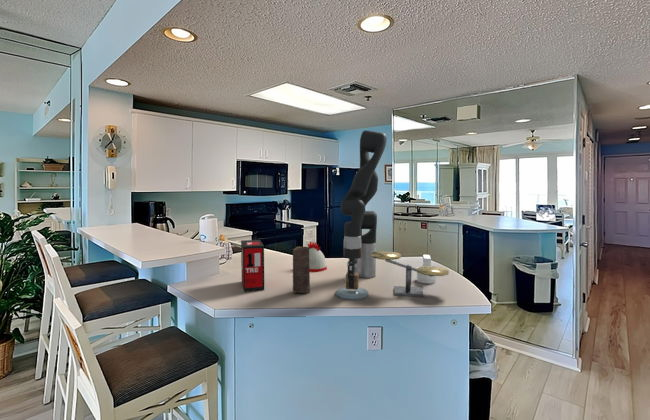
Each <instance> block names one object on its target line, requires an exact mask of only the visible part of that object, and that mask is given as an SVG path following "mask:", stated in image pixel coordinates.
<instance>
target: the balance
mask: <svg viewBox="0 0 650 420" xmlns="http://www.w3.org/2000/svg"><path fill="white" fill-rule="evenodd" d="M371 257H373V258H376V260H384V261H385V262H387V263H389V264H393V265H396V266H398V267H401V268H404V269H405V286H404V285H403V286H400V285H399V286H398V285H394V286H393V293H394V296H399V297H400V296H403V297H421V298H424V297H425V295H424V291H423V289H422V287H419V286H412V275H413V274H412V272H416V273H417V272H418V273H420V274H423V275H428V276H431V277H432V276H436V277H444V276H448V275H449V271H450V270H449V269H447V268H444V267H441V266H434V265H431V266H423V265H422V266H418V267H416V268H415V267H413V266H411V264H405V263H401V262H398V261H395V260H399V259H401V257H402V254H401V253H399V252H395V251H390V250H389V251H386V250H383V251H382V250H381V251H378V250H376V252H372V253H371Z"/></svg>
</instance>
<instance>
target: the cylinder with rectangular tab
mask: <svg viewBox="0 0 650 420" xmlns="http://www.w3.org/2000/svg"><path fill="white" fill-rule="evenodd" d="M422 266H432V258H431V255H430V254H422ZM416 281H417V282H418V283H422V284H435V283H437V276H432V277H431V276H428V275H423V274H420V273H418V272H416Z"/></svg>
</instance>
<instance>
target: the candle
mask: <svg viewBox="0 0 650 420" xmlns="http://www.w3.org/2000/svg"><path fill="white" fill-rule="evenodd" d="M310 274H311V272H310V268H309V247H308V246H296V247H295V248H292V291H293V292H295V293H299V294H300V293H302V294H304V293H310V292H311V291H310V290H311V280H310V279H311V278H310V277H311V276H310Z"/></svg>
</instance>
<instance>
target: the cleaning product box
mask: <svg viewBox="0 0 650 420" xmlns="http://www.w3.org/2000/svg"><path fill="white" fill-rule="evenodd" d="M240 251H241V252H240V253H241V255H240V257H241V261H240V262H241V284H242V291H243V293H247V292H248V293H249V292H250V293H251V292H258V291H261V292H262V291H265V245H264V243H263V242H262V241H261V239H248V240H247V239H246V240H245V239H244V240H240Z"/></svg>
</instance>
